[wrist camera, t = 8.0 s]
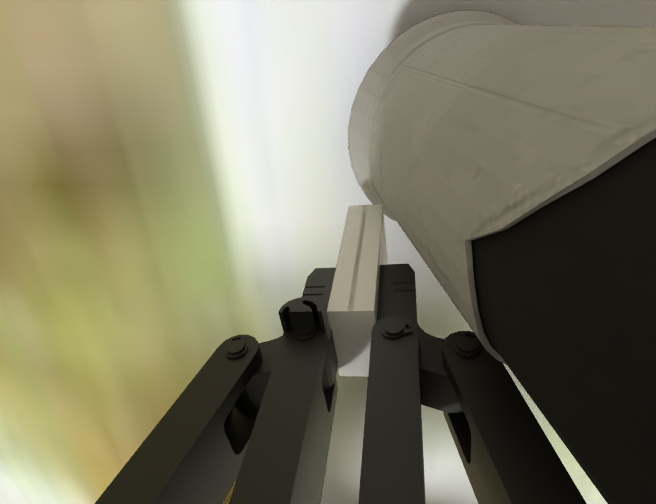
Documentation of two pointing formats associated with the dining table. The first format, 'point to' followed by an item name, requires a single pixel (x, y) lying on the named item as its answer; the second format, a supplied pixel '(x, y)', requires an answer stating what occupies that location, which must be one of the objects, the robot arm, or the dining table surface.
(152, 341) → the dining table surface
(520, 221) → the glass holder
